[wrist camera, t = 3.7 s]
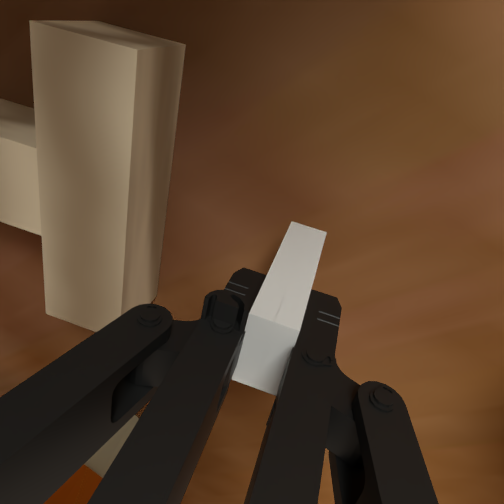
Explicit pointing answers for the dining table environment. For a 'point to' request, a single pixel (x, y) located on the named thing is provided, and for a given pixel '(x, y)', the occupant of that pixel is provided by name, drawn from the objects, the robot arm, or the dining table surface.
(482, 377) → the dining table surface
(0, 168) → the t block
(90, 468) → the reusable coffee cup
